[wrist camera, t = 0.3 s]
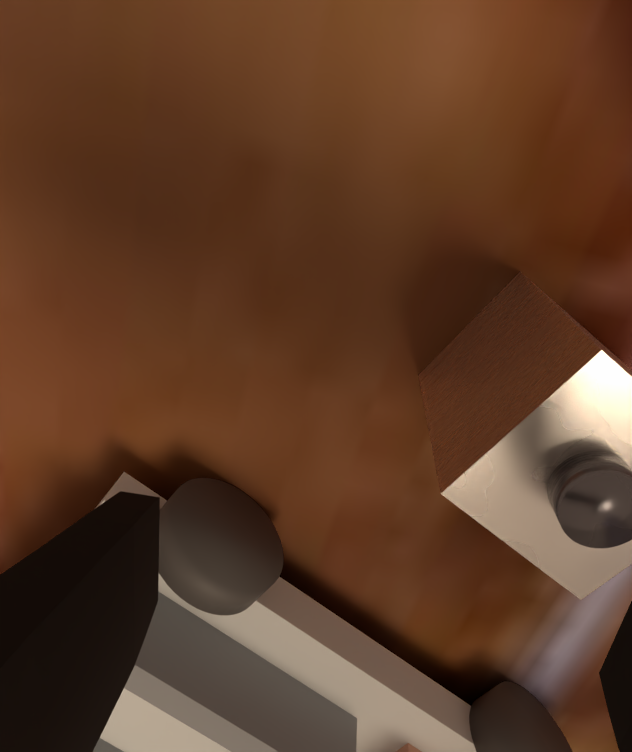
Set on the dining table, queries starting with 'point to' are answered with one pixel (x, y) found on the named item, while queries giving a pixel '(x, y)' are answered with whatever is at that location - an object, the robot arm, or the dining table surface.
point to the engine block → (536, 436)
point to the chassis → (281, 657)
